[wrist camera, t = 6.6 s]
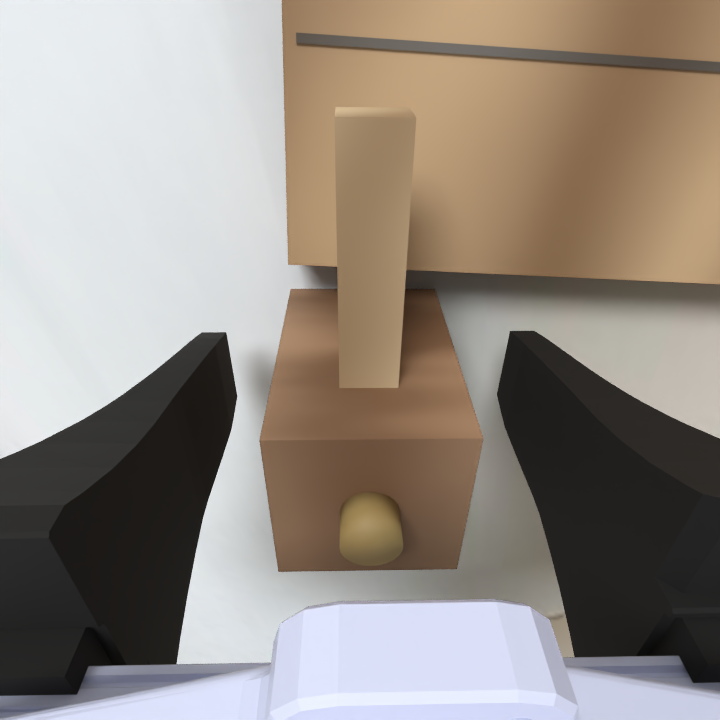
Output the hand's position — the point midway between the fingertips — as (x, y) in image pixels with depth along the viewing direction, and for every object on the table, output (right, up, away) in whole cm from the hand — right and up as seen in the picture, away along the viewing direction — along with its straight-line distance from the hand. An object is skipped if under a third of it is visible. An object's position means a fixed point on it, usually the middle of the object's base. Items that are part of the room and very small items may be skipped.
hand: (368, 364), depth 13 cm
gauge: (0, +3, +1) cm, 3 cm away
